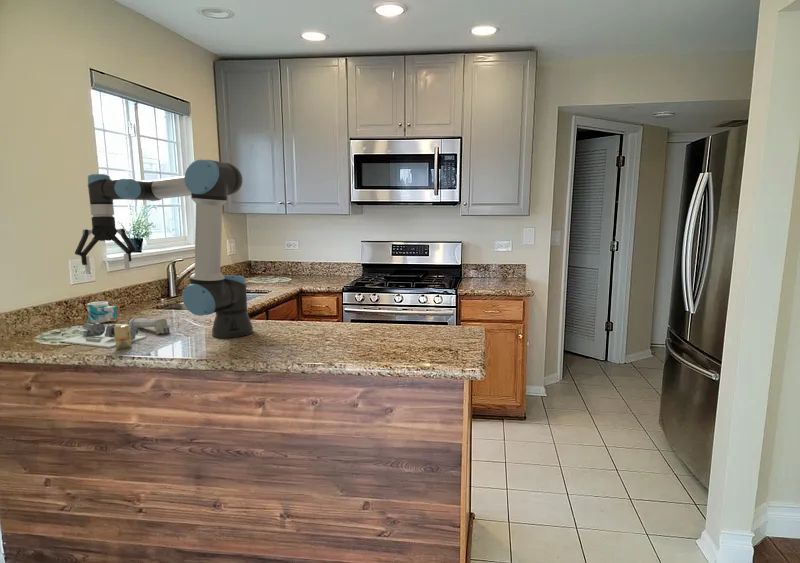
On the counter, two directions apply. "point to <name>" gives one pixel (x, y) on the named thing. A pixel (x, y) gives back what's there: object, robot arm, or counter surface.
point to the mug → (100, 312)
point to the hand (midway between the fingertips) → (108, 271)
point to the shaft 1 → (93, 329)
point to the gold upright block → (122, 337)
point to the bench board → (97, 340)
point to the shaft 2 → (111, 332)
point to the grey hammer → (151, 324)
